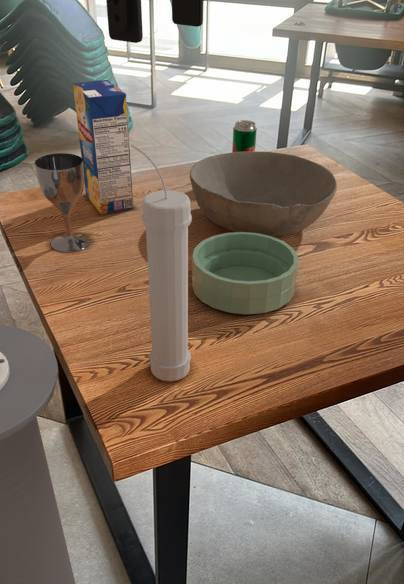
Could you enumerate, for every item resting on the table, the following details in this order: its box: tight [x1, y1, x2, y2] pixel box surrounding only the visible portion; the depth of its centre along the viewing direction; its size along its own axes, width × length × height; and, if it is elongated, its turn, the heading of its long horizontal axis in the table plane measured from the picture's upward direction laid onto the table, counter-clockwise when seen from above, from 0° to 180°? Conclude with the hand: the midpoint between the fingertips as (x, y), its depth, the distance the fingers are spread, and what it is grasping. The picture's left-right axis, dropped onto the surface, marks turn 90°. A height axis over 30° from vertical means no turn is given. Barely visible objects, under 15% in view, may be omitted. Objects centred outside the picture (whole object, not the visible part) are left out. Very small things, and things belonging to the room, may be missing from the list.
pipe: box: [130, 144, 193, 383], centre depth 68 cm, size 6×6×30 cm
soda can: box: [231, 119, 258, 153], centre depth 127 cm, size 5×5×12 cm
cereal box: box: [72, 79, 134, 215], centre depth 113 cm, size 7×11×22 cm, turn 25°
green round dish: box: [191, 231, 299, 315], centre depth 92 cm, size 17×17×6 cm
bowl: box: [189, 150, 338, 238], centre depth 110 cm, size 28×28×10 cm
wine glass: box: [34, 152, 91, 253], centre depth 100 cm, size 8×8×15 cm
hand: (158, 32), depth 52 cm, fingers open, 9 cm apart
